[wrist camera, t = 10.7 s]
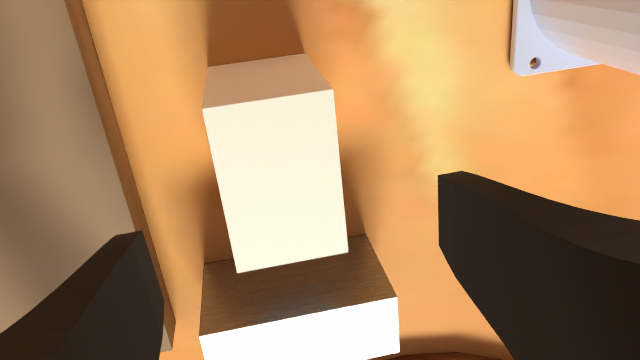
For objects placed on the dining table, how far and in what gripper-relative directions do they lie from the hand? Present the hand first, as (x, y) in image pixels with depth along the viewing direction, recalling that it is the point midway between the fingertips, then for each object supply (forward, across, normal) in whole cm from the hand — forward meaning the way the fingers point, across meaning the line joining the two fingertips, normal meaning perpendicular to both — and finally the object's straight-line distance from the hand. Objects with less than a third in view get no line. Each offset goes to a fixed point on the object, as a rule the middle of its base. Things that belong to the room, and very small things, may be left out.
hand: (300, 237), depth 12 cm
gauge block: (+10, 0, +1) cm, 11 cm away
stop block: (+10, 0, +8) cm, 13 cm away
